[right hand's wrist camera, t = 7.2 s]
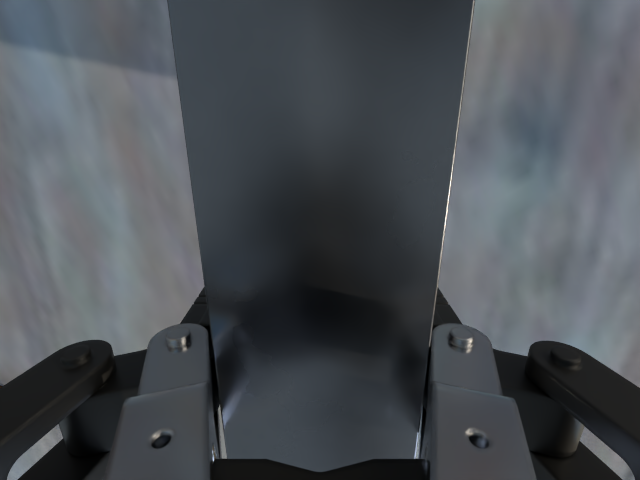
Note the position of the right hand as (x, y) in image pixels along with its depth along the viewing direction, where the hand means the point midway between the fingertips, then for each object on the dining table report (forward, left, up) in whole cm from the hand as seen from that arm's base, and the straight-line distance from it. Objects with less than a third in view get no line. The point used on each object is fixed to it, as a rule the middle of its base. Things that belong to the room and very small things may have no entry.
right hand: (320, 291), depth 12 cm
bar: (+6, +6, -5) cm, 10 cm away
